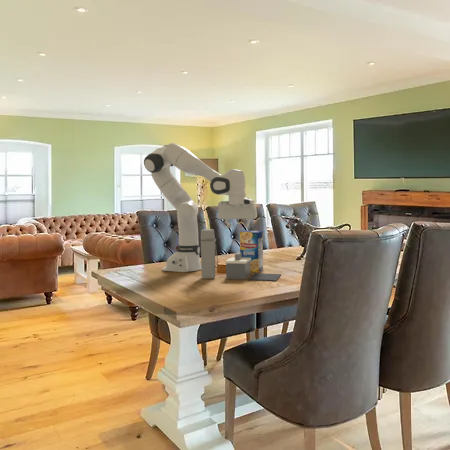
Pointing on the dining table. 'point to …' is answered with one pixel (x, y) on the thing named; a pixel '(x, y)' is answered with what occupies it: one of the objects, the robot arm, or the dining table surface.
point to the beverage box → (252, 248)
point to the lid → (238, 259)
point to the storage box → (238, 271)
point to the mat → (264, 277)
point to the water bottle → (208, 253)
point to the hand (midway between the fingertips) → (237, 227)
